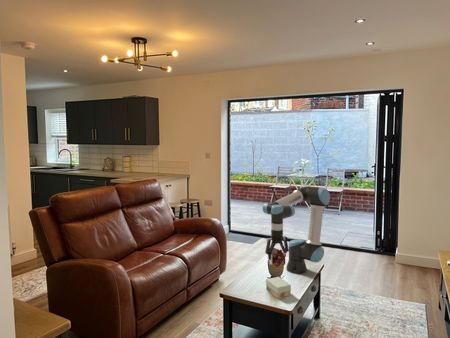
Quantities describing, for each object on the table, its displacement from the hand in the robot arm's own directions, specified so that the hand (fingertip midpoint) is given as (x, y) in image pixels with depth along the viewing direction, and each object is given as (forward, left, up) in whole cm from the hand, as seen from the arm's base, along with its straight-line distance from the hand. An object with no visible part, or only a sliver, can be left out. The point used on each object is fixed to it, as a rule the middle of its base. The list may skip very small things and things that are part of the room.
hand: (277, 263), depth 227 cm
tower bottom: (-1, 0, -20) cm, 20 cm away
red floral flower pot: (0, 0, -1) cm, 1 cm away
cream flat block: (0, +1, -16) cm, 16 cm away
